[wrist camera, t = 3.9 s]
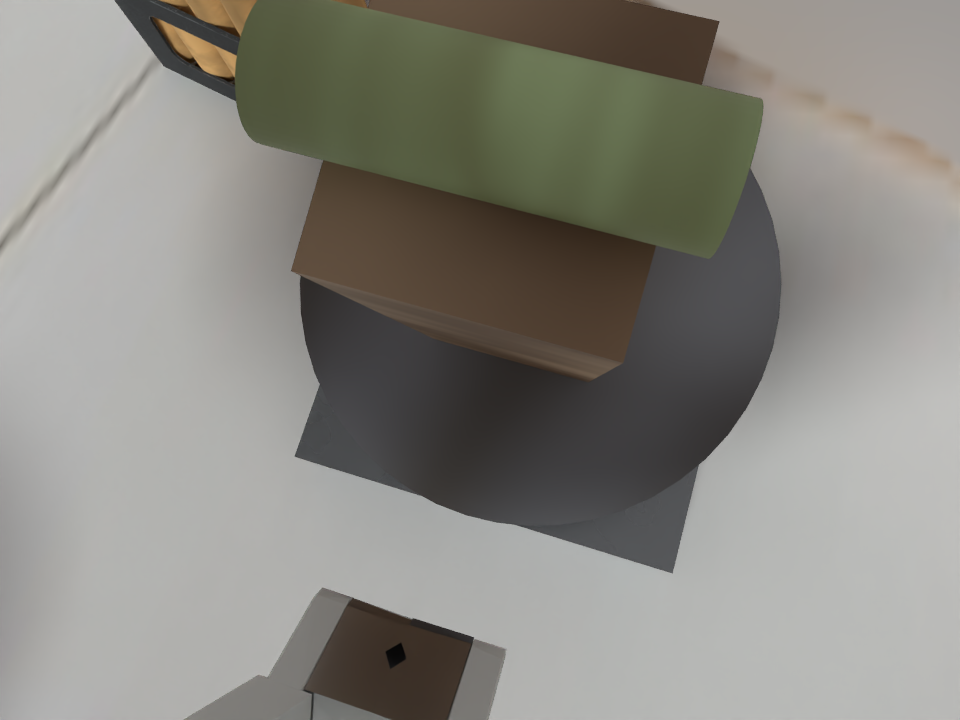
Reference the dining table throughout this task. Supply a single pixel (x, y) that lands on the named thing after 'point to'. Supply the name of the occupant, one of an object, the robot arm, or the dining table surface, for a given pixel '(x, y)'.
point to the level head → (521, 241)
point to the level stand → (626, 534)
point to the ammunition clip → (196, 36)
